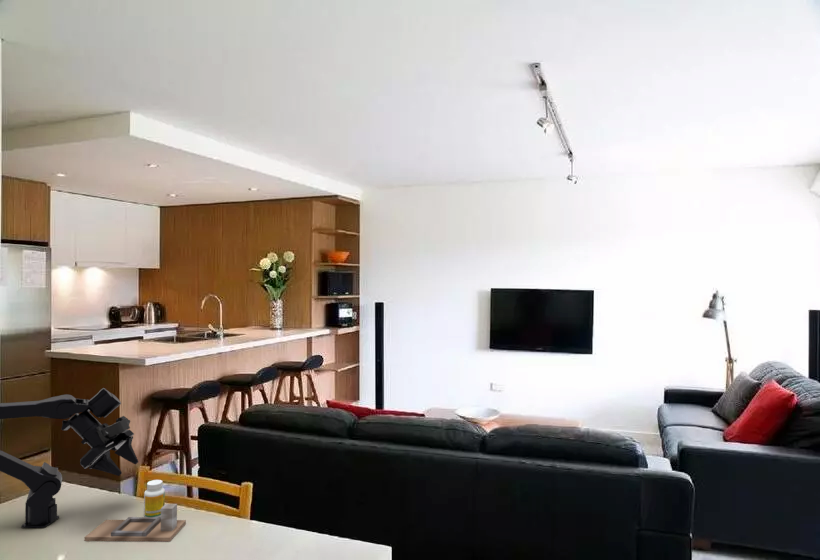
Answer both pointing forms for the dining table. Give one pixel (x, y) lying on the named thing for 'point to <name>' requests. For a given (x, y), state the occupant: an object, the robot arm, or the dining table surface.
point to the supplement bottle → (154, 499)
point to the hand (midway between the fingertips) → (129, 468)
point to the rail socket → (140, 527)
